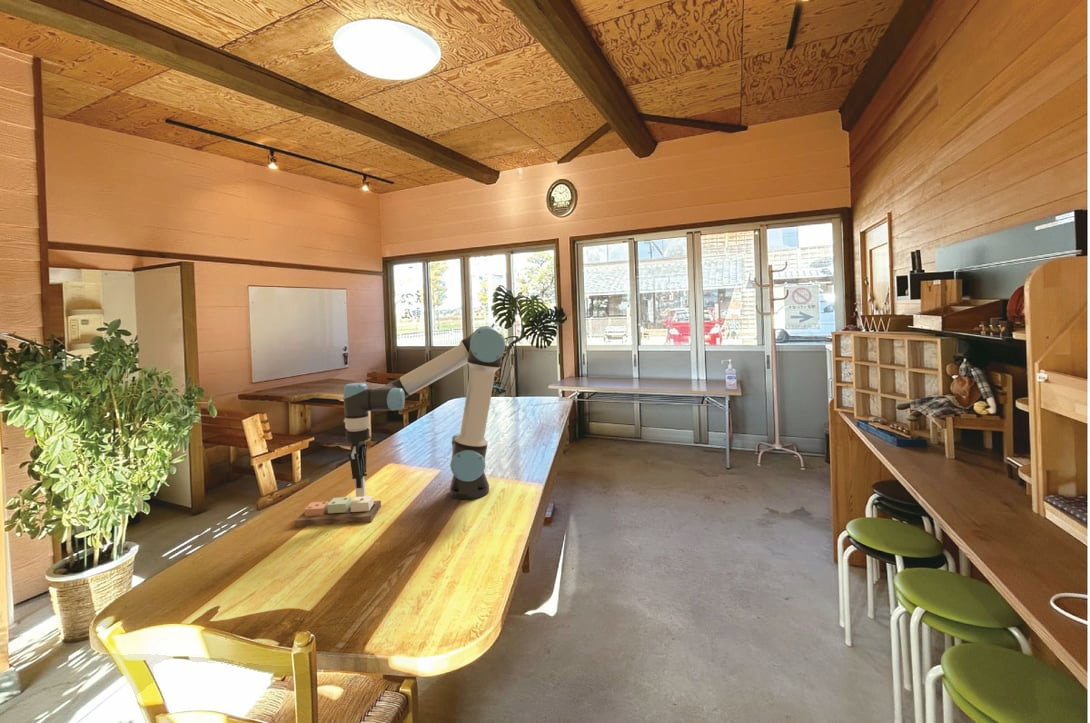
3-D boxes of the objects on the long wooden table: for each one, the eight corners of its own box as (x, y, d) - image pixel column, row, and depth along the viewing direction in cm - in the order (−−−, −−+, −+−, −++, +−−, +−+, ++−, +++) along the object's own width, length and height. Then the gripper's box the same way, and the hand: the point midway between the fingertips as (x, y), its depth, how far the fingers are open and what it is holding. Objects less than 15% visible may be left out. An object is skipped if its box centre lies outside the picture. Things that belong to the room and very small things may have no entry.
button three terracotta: (329, 509, 163) (329, 501, 163) (323, 516, 157) (322, 508, 157) (312, 510, 163) (311, 502, 162) (304, 518, 157) (304, 509, 156)
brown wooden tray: (381, 506, 168) (380, 500, 168) (371, 522, 155) (370, 515, 155) (311, 510, 166) (311, 504, 166) (296, 526, 153) (295, 520, 153)
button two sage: (351, 505, 164) (351, 496, 163) (346, 512, 158) (345, 503, 157) (334, 506, 163) (333, 497, 163) (327, 513, 157) (327, 504, 157)
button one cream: (373, 503, 164) (373, 495, 164) (368, 510, 158) (368, 502, 158) (356, 504, 164) (355, 496, 164) (350, 512, 158) (350, 503, 158)
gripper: (351, 424, 164) (355, 489, 167) (339, 433, 152) (343, 503, 154) (373, 424, 165) (376, 488, 167) (362, 433, 152) (366, 502, 155)
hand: (360, 495), depth 161 cm, fingers closed
